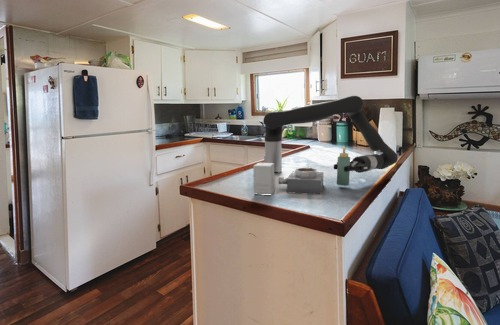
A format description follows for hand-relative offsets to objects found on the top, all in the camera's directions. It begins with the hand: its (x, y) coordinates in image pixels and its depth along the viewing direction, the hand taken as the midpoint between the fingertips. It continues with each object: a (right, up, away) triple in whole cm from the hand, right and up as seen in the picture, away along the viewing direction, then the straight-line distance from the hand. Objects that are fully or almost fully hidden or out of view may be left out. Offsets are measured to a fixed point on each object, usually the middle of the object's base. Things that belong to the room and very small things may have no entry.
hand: (339, 168), depth 135 cm
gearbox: (-17, -9, +4) cm, 19 cm away
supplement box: (-33, -11, -3) cm, 34 cm away
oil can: (+2, -7, +3) cm, 8 cm away
